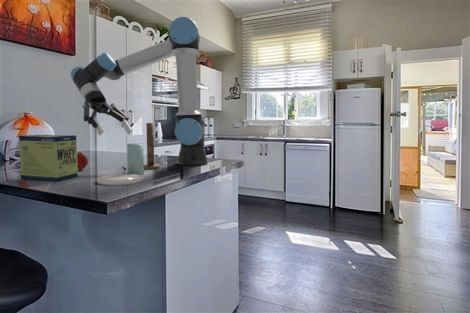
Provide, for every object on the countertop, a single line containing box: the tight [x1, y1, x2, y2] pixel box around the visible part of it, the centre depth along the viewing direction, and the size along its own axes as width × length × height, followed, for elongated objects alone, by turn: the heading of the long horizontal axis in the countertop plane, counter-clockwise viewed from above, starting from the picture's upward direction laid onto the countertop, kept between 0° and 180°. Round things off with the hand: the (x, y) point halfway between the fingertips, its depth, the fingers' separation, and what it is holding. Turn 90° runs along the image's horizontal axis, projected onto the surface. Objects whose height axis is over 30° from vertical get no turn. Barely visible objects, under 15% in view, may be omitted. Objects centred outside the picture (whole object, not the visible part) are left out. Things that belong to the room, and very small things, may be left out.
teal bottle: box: [126, 143, 145, 176], centre depth 124 cm, size 6×6×12 cm
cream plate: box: [96, 173, 144, 186], centre depth 110 cm, size 15×15×1 cm
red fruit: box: [77, 150, 89, 171], centre depth 133 cm, size 6×6×8 cm
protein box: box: [18, 134, 79, 183], centre depth 114 cm, size 10×16×16 cm
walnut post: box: [144, 122, 161, 170], centre depth 140 cm, size 8×8×20 cm
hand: (116, 132), depth 129 cm, fingers open, 13 cm apart
